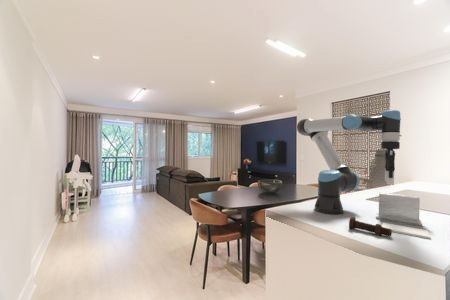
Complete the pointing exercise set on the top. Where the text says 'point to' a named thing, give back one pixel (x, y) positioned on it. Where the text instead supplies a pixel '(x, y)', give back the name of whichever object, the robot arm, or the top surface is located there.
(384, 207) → the block
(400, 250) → the top surface
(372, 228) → the bolt
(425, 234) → the mat
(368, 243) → the top surface
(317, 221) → the top surface
